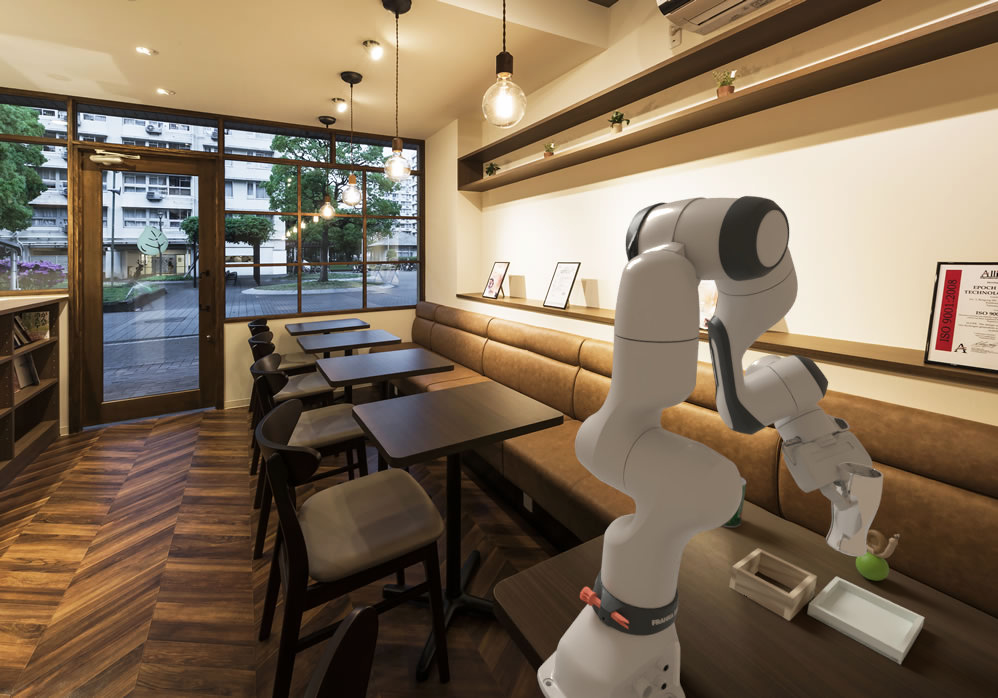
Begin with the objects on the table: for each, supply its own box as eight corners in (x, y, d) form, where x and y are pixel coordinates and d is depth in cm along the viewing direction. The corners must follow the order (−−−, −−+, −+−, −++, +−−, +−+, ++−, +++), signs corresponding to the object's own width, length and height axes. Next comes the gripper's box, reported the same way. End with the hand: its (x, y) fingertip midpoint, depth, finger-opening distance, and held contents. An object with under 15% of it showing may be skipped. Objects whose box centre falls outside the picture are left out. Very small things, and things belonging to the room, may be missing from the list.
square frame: (789, 620, 85) (793, 598, 85) (729, 586, 94) (732, 566, 93) (813, 596, 92) (817, 576, 91) (755, 567, 101) (758, 547, 100)
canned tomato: (736, 513, 123) (742, 473, 121) (744, 529, 115) (750, 487, 113) (703, 509, 124) (708, 469, 122) (709, 524, 117) (715, 483, 115)
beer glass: (853, 537, 90) (867, 462, 87) (879, 559, 83) (895, 480, 80) (814, 534, 90) (827, 460, 87) (837, 556, 83) (852, 477, 80)
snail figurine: (876, 591, 94) (887, 536, 92) (847, 570, 101) (856, 518, 98) (898, 588, 96) (909, 534, 93) (867, 568, 102) (878, 517, 100)
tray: (900, 664, 77) (903, 652, 76) (807, 614, 87) (809, 603, 87) (922, 628, 85) (924, 617, 84) (834, 586, 95) (836, 576, 95)
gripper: (792, 434, 83) (845, 512, 77) (850, 418, 93) (901, 485, 87) (763, 449, 88) (811, 523, 81) (822, 432, 98) (868, 497, 91)
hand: (858, 503), depth 84 cm, fingers closed on beer glass, 7 cm apart
